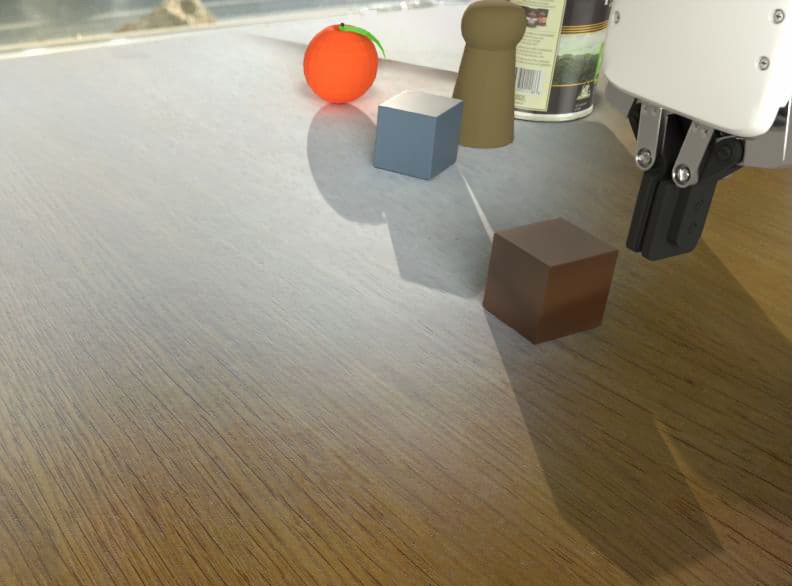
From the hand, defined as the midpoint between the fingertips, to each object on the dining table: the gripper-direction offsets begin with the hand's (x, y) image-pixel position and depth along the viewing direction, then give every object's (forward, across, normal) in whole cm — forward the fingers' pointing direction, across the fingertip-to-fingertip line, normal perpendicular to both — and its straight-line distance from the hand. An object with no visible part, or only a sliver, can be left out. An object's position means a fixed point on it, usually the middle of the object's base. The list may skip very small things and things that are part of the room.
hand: (659, 249), depth 49 cm
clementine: (+8, +47, -10) cm, 49 cm away
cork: (+8, +35, -16) cm, 39 cm away
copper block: (+8, +8, 0) cm, 11 cm away
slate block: (+8, +32, -8) cm, 33 cm away
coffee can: (+8, +39, -26) cm, 48 cm away
